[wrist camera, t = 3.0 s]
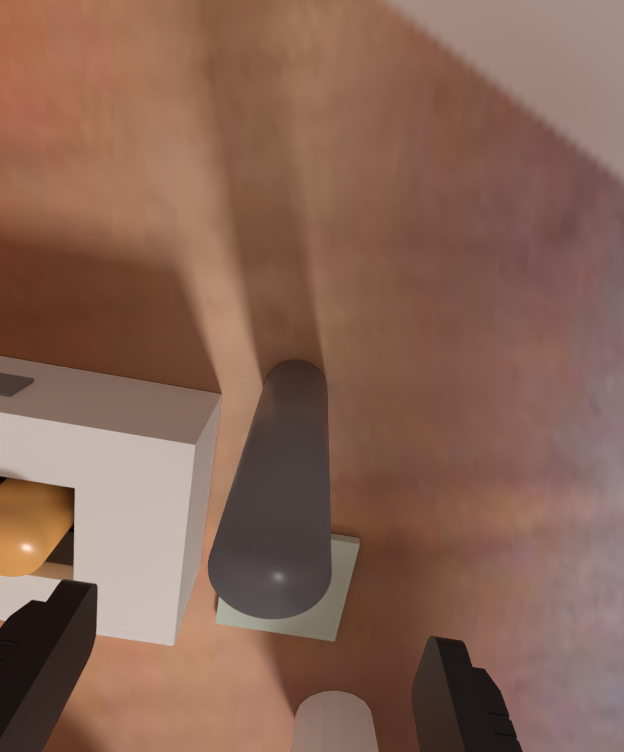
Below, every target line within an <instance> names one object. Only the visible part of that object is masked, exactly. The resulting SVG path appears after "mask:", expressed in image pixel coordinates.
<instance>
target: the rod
mask: <svg viewBox="0 0 624 752" xmlns="http://www.w3.org/2000/svg"><path fill="white" fill-rule="evenodd" d="M208 575H209V578H210V582H211V584H212V586H213V588H214V590H215V591H216V593H217V594H218V595H219V597H220V598H221V599H222V600H223V601H224V602H225V603H226V604H228V605H229V606H231V607H232V608H234V609H235V610H237V611H239V612H241V613H243V614H246V615H249V616H252V617H256V618H261V619H285V618H290V617H293V616H296V615H299V614H302V613H304V612H306V611H307V610H309V609H311V608H312V607H314V606H315V605H316V604H317V603H318V602H319V601H320V600H321V599H322V598H323V596H324V595H325V594H326V592H327V590H328V588H329V585H330V582H331V577H332V559H331V518H330V477H329V436H328V395H327V383H326V380H325V377H324V376H323V374H322V373H321V371H320V370H319V369H318V368H317V367H315V366H314V365H313V364H311V363H309V362H306V361H302V360H288V361H284V362H282V363H280V364H278V365H277V366H275V367H274V368H273V369H272V370H271V371H270V372H269V374H268V376H267V378H266V380H265V383H264V386H263V390H262V393H261V396H260V399H259V402H258V405H257V408H256V411H255V415H254V418H253V421H252V424H251V427H250V430H249V433H248V437H247V440H246V443H245V446H244V449H243V452H242V455H241V458H240V462H239V465H238V468H237V471H236V474H235V477H234V480H233V483H232V487H231V490H230V493H229V496H228V499H227V502H226V505H225V508H224V512H223V515H222V518H221V521H220V524H219V527H218V530H217V534H216V537H215V540H214V543H213V546H212V549H211V552H210V555H209V560H208Z"/></svg>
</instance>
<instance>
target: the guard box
mask: <svg viewBox="0 0 624 752" xmlns="http://www.w3.org/2000/svg"><path fill="white" fill-rule="evenodd" d="M221 398H222V394H219V393H213V392H207V391H201V390H195V389H190V388H184V387H178V386H172V385H166V384H161V383H155V382H149V381H143V380H137V379H132V378H126V377H120V376H114V375H108V374H102V373H97V372H91V371H85V370H79V369H73V368H68V367H62V366H56V365H50V364H44V363H39V362H33V361H27V360H21V359H15V358H9V357H4V356H0V476H3V477H9V478H15V479H21V480H28V481H34V482H40V483H46V484H52V485H58V486H65V487H71V488H75V512H74V532H69V531H67V533H66V534H65V535H64V537H63V538H62V539H61V540H60V542H59V543H58V544H57V546H56V547H55V548H54V550H53V551H52V552H51V553H50V555H49V556H48V557H47V559H46V560H45V561H44V562H43V564H42V565H41V566H40V567H39V568H38V569H37V570H35V571H34V572H32V573H30V574H27V575H24V576H18V577H8V576H1V575H0V620H3V621H6V620H7V619H8V617H9V616H11V615H12V614H13V613H15V612H16V611H17V610H19V609H20V608H21V607H23V606H24V605H25V604H27V603H28V602H29V601H31V600H37V601H44V602H46V601H47V600H48V598H49V597H50V595H51V594H52V592H53V591H54V589H55V588H56V587H57V585H58V584H59V583H60V582H61V581H62V580H63V579H69V580H75V581H82V582H88V583H95V584H97V587H98V598H97V629H96V634H97V635H103V636H110V637H117V638H123V639H130V640H137V641H143V642H150V643H157V644H163V645H170V646H174V644H175V641H176V638H177V635H178V632H179V629H180V626H181V623H182V620H183V617H184V614H185V611H186V608H187V605H188V602H189V599H190V596H191V593H192V590H193V587H194V584H195V581H196V578H197V575H198V572H199V569H200V566H201V559H202V551H203V542H204V534H205V526H206V518H207V510H208V502H209V494H210V486H211V478H212V470H213V462H214V454H215V446H216V438H217V430H218V422H219V414H220V406H221Z"/></svg>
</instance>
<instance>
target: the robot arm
mask: <svg viewBox="0 0 624 752" xmlns="http://www.w3.org/2000/svg"><path fill="white" fill-rule="evenodd" d="M97 598H98V587H97V584H95V583H88V582H82V581H75V580H69V579H63V580H62V581H61V582H60V583H59V584H58V585H57V587H56V588H55V589H54V591H53V592H52V594H51V595H50V597H49V598H48V600H47V601H46V602H44V601H37V600H31V601H29V602H28V603H27V604H25V605H24V606H23V607H21V608H20V609H19V610H17V611H16V612H15V613H13V614H12V615H11V616H9V617H8V619H7V620H6V621H5V623H4V624H3V625H2V627H1V628H0V752H42V750H43V748H44V746H45V744H46V742H47V740H48V738H49V736H50V734H51V732H52V730H53V728H54V726H55V724H56V722H57V720H58V719H59V717H60V715H61V713H62V711H63V709H64V707H65V705H66V703H67V701H68V699H69V697H70V695H71V693H72V691H73V689H74V687H75V685H76V683H77V681H78V679H79V677H80V675H81V673H82V671H83V669H84V667H85V665H86V663H87V661H88V659H89V657H90V654H91V651H92V648H93V645H94V641H95V637H96V629H97ZM412 704H413V712H414V718H415V724H416V729H417V735H418V740H419V746H420V751H421V752H522V749H521V746H520V743H519V741H517V738H516V737H517V735H516V732H515V730H514V727H513V724H512V721H511V720H509V713H508V710H507V708H506V705H505V702H504V699H503V697H502V694H501V691H500V690H499V688H498V687H497V686H496V684H495V683H494V682H493V680H492V679H491V677H490V676H489V675H488V673H487V672H486V670H485V669H482V668H475V667H472V664H471V661H470V657H469V654H468V651H467V648H466V646H465V644H464V642H463V641H461V640H455V639H448V638H441V637H435V636H431V637H429V639H428V641H427V644H426V647H425V650H424V653H423V655H422V658H421V661H420V664H419V667H418V670H417V673H416V676H415V679H414V683H413V690H412Z"/></svg>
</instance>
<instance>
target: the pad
mask: <svg viewBox="0 0 624 752" xmlns="http://www.w3.org/2000/svg"><path fill="white" fill-rule="evenodd" d="M359 546H360V540H359V538H357V537H351V536H344V535H338V534H332V533H331V559H332V577H331V582H330V585H329V588H328V590H327V592H326V594H325V595H324V596H323V598H322V599H321V600H320V601H319V602H318V603H317V604H316V605H315V606H314V607H312V608H311V609H309V610H307V611H306V612H304V613H302V614H299V615H296V616H293V617H290V618H285V619H261V618H256V617H252V616H249V615H246V614H243V613H241V612H239V611H237V610H235V609H234V608H232V607H231V606H229V605H228V604H226V603H225V602H224V601H223V600H222V599H221V598H220V597H219V601H218V608H217V614H216V621H215V624H222V625H228V626H235V627H241V628H248V629H255V630H261V631H268V632H274V633H281V634H287V635H294V636H301V637H307V638H314V639H320V640H327V641H333V642H335V639H336V635H337V631H338V627H339V623H340V620H341V616H342V612H343V608H344V604H345V600H346V596H347V593H348V589H349V585H350V581H351V577H352V573H353V569H354V565H355V562H356V558H357V554H358V550H359Z"/></svg>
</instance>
